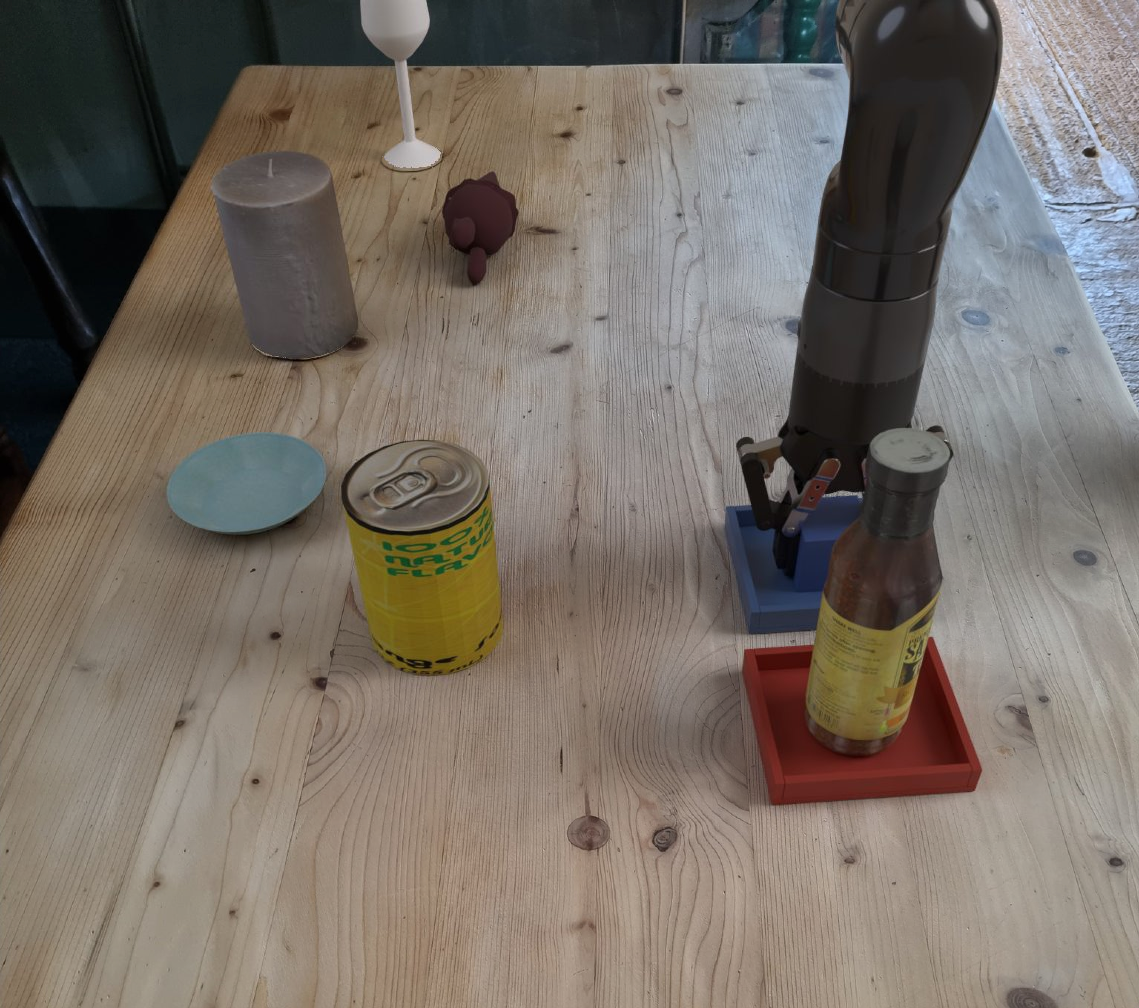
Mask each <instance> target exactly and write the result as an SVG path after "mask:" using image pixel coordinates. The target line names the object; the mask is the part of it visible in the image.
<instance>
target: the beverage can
mask: <svg viewBox="0 0 1139 1008" xmlns="http://www.w3.org/2000/svg"><path fill="white" fill-rule="evenodd" d="M340 494H341V495H340V497H341V503H342V508H343V511H344V515H345V516H344V517H345V521H346V526H347V531H348V534H349V541H350V545H351V549H352V555H353V559H354V564H355V568H356V572H357V577H358V578H357V579H358V582H359V587H360V592H361V596H362V600H363V606H364V611H365V615H366V621H367V624H368V630H369V634H370V639H371V643H372V646H373V647H374V649H375V651H376V653H377V655H378V656H379V657H380V658H381V659H382V660H383V661H384V662H385V663H386V664H388V665H390V666H391V667H393V668H395V669H397V670H398V671H401V672H406V673H409V674H412V675H418V676H419V675H420V676H433V677H434V676H442V675H450V674H454V673H457V672H460V671H463V670H466V669H469V668H470V667H472V666H475V665H476V664H478V663H480V662H481V661H483V660H484V659H485V658H486V657H488V655H490V654H491V653H492V652H493V651H494V650H495V649H496V647H497V645H498V643H499V642H500V640H501V639H502V635H503V629H504V620H503V610H502V609H503V608H502V598H501V597H502V596H501V587H500V577H499V567H498V557H497V555H498V554H497V547H496V536H495V527H494V525H495V524H494V515H493V514H494V513H493V504H492V493H491V484H490V476H489V470H488V468H487V466H486V465H485V464H484V462H483V460H482V459H481V458H480V457H479V456H477V454H475V453H474V452H472V451H471V450H469V449H468V448H465V447H463V446H460V445H459V444H455V443H452V442H448V441H442V440H439V439H438V440H436V439H435V440H434V439H413V440H403V441H399V442H395V443H392V444H387V445H384V446H381V447H379V448H377V449H375V450H373V451H371V452H368V453H367V454H366V455H364V456H363V457H361V458H360V459H358V460H357V461H355V462H354V464H352V465H351V467H350V468H349V469H348V470H347V472H346V473H345V474H344V477H343V480H342V482H341V485H340Z"/></svg>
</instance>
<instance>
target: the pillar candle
mask: <svg viewBox="0 0 1139 1008" xmlns="http://www.w3.org/2000/svg"><path fill="white" fill-rule="evenodd" d="M209 189H210V191H211V192H212V194H213V197H214V202H215V205H216V211H217V213H218V219H219V221H220V222H219V223H220V226H221V230H222V235H223V238H224V243H225V246H226V250H227V256H228V259H229V262H230V266H231V270H232V275H233V279H234V283H235V287H236V291H237V295H238V298H239V303H240V308H241V312H242V315H243V320H244V324H245V326H246V332H247V336H248V339H249V341H250V344H251V343H252V344H253V345H254V346H255V347H256V348H257V349H259V350H260V351H262V352H264V353H267V354H270V355H272V356H279V357H284V358H283V359H286V358H292V359H291V360H296V359H300V358H311V357H315V356H321V355H324V354H327V353H331V352H333V351H336V350H337V349H339V348H341V347H342V346H343V345H346V344H347V343H348V341H350V339H352V338H353V339H354V337H355V336H356V334H357V331H358V328H359V318H358V314H357V307H356V306H357V305H356V301H355V296H354V295H355V294H354V288H353V284H352V279H351V272H350V266H349V260H348V255H347V250H346V245H345V239H344V234H343V228H342V223H341V216H340V210H339V205H338V201H337V195H336V190H335V185H334V177H333V174H332V170H331V167H330V166H329V165H328V163H327V162H326V161H325V160H324V159H322V158H320V157H318V156H315V155H313V154H311V153H307V152H306V153H305V152H301V151H291V150H290V151H289V150H277V151H276V150H275V151H274V150H273V151H263V152H258V153H253V154H249V155H246V156H244V157H240V158H238V159H235V160H233V161H231V162H228V163H226V164H225V165H224V166H223V167H222V168H220V169H219V170H218V171H217V172H216V173H215V175H214V176H213V177H212V181H211V185H210V187H209ZM356 330H357V331H356ZM355 333H356V334H355ZM354 335H355V336H354ZM353 336H354V337H353ZM353 339H352V340H353ZM350 342H351V341H350ZM252 344H251V345H252ZM348 344H349V343H348ZM348 344H347V345H348ZM347 345H346V346H347ZM341 349H342V348H341ZM285 357H286V358H285ZM295 358H296V359H295Z"/></svg>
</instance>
